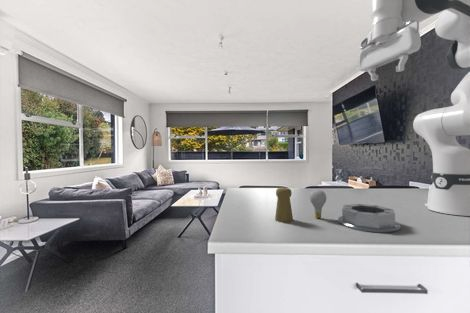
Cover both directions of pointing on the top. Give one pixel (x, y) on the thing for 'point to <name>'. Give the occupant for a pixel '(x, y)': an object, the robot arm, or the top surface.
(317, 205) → the light bulb
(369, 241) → the top surface
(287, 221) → the cork
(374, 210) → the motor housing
